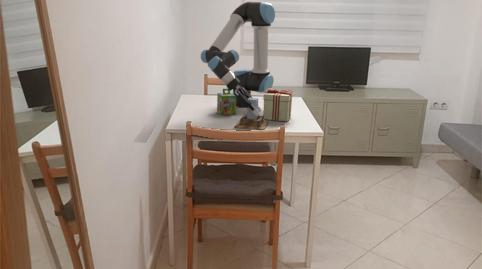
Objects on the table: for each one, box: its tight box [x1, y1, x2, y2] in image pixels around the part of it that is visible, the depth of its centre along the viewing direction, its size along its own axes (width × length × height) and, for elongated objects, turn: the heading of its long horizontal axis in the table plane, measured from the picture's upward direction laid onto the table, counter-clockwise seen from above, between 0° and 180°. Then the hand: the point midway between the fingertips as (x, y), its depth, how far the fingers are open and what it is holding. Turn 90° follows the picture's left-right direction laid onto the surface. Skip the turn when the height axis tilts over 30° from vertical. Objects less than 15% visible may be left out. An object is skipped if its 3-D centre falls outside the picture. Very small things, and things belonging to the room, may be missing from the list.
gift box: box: [262, 87, 294, 122], centre depth 259 cm, size 17×18×17 cm
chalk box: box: [216, 88, 237, 116], centre depth 265 cm, size 9×9×15 cm
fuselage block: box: [246, 97, 259, 120], centre depth 241 cm, size 5×5×13 cm
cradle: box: [234, 113, 270, 131], centre depth 243 cm, size 16×16×4 cm
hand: (259, 113), depth 240 cm, fingers open, 5 cm apart
